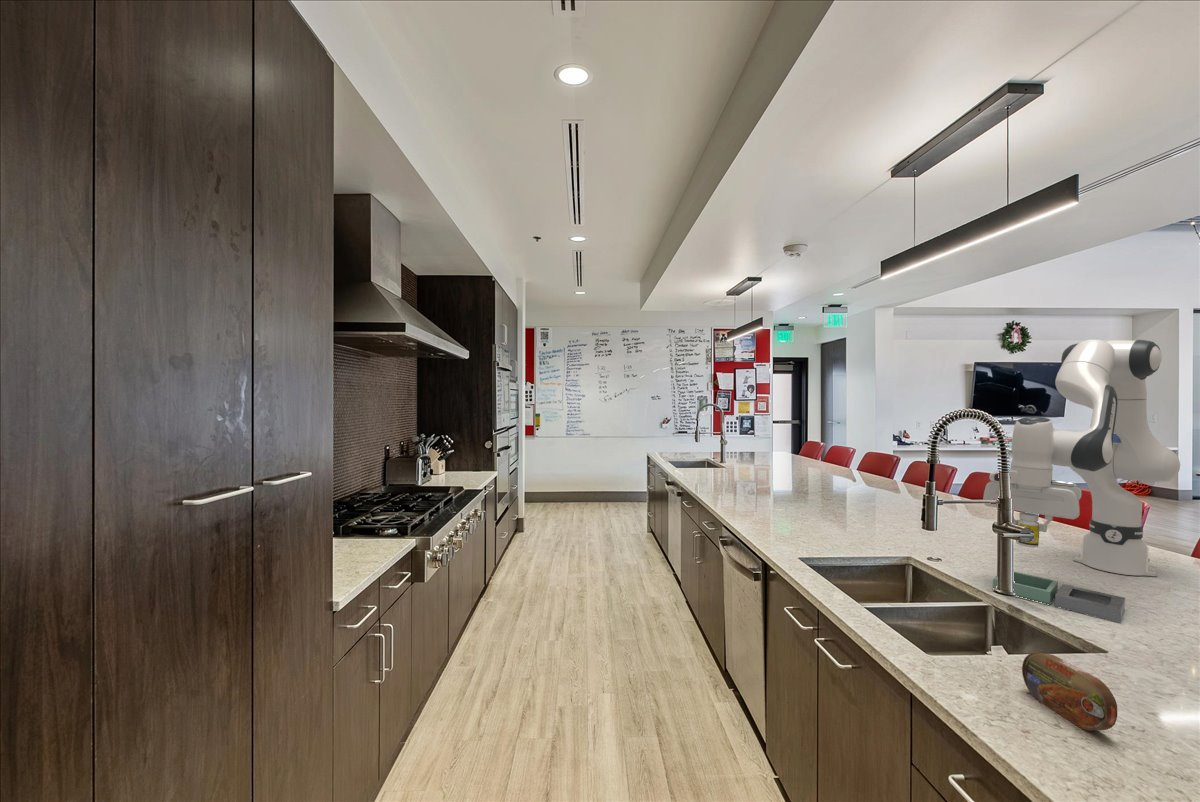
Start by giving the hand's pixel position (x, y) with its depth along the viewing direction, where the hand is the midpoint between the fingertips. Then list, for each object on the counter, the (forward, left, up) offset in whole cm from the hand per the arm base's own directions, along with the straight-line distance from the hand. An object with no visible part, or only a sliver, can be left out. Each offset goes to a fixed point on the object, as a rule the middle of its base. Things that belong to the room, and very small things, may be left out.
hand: (1028, 528), depth 146 cm
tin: (+63, +16, -18) cm, 67 cm away
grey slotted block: (0, +13, -17) cm, 22 cm away
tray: (0, 0, -17) cm, 17 cm away
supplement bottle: (0, 0, -5) cm, 5 cm away
